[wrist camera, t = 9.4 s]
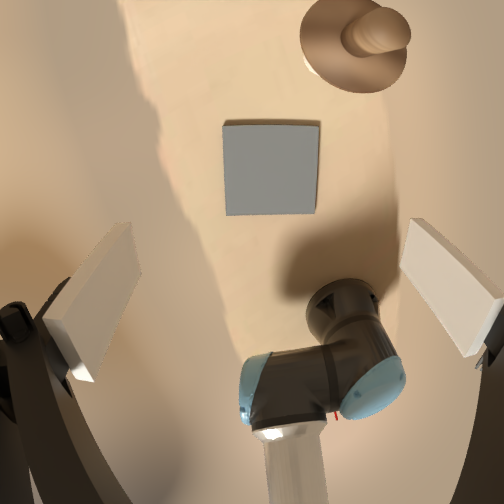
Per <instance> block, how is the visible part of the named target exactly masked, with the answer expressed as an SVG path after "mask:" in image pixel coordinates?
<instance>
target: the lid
mask: <svg viewBox="0 0 504 504" xmlns="http://www.w3.org/2000/svg"><path fill="white" fill-rule="evenodd" d="M410 39H411V30H410V27H409V25H408V22H407V21H406V19H405V18H404V17H403V16H402V15H401V14H400V13H398V12H397V11H395V10H393V9H391V8H387V7H381V6H380V5H379V4H377V3H375V2H374V1H372V0H319V1H317V2H316V3H315V4H314V5H312V7H311V8H310V9H309V10H308V12H307V13H306V14H305V16H304V18H303V20H302V23H301V27H300V43H301V47H302V50H303V53H304V55H305V57H306V59H307V61H308V63H309V64H310V66H311V67H312V68H313V70H314V71H315V72H316V73H317V74H318V75H319V76H320V77H321V78H323V79H324V80H325V81H327V82H328V83H329V84H331V85H333V86H335V87H337V88H339V89H342V90H345V91H348V92H353V93H374V92H378V91H381V90H384V89H386V88H388V87H390V86H391V85H392V84H394V83H395V82H396V81H397V80H398V78H399V77H400V75H401V74H402V72H403V70H404V67H405V64H406V58H407V49H406V46H407V45H408V43H409V42H410Z"/></svg>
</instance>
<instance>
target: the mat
mask: <svg viewBox="0 0 504 504" xmlns="http://www.w3.org/2000/svg"><path fill="white" fill-rule="evenodd" d="M222 132H223V158H224V181H225V201H226V216H236V215H276V214H314V213H315V199H316V182H317V163H318V138H319V126H306V125H229V126H222Z"/></svg>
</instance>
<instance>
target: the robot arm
mask: <svg viewBox="0 0 504 504" xmlns="http://www.w3.org/2000/svg"><path fill="white" fill-rule="evenodd" d="M399 267H400V269H401V270H402V271H403V272H404V274H405V275H406V276H407V277H408V279H409V280H410V281H411V283H412V284H413V285H414V287H415V288H416V289H417V290H418V292H419V293H420V294H421V296H422V297H423V299H424V300H425V301H426V303H427V304H428V305H429V307H430V308H431V309H432V311H433V312H434V314H435V315H436V317H437V318H438V319H439V321H440V322H441V324H442V325H443V327H444V328H445V329H446V331H447V332H448V334H449V335H450V337H451V338H452V340H453V341H454V343H455V345H456V346H457V348H458V349H459V351H460V352H461V354H462V355H463V357H464V358H465V357H468V356H471V355H474V354H477V352H478V351H479V349H480V347H481V346H482V344H483V342H484V343H485V344H486V346H487V349H486V350H485V352H484V353H483V355H482V357H481V358H480V360H479V361H478V363H477V364H476V367H475V369H477V368H478V367H479V365H481V364H483V365H482V368H481V369H480V371H482V376H481V384H480V391H479V399H478V405H477V411H476V416H475V421H474V426H473V431H472V435H471V439H470V443H469V447H468V451H467V455H466V458H465V462H464V466H463V469H462V472H461V475H460V478H459V481H458V484H457V487H456V489H455V492H454V495H453V497H452V500H451V502H450V504H504V293H503V292H502V291H501V290H500V289H499V288H498V287H497V286H496V285H495V284H494V283H493V282H492V281H491V280H490V279H489V278H488V277H487V276H486V275H485V274H484V273H483V272H482V271H481V270H480V269H479V268H478V267H477V266H476V265H475V264H474V263H473V262H472V261H471V260H469V258H468V257H467V256H465V255H464V254H463V253H462V252H461V251H460V250H459V249H458V248H457V247H455V246H454V245H453V244H452V243H451V242H450V241H449V240H447V239H446V238H445V237H444V236H443V235H442V234H440V233H439V232H438V231H437V230H436V229H435V228H433V227H432V226H431V225H430V224H428V223H427V222H426V221H425V220H424V219H421V218H419V219H418V218H410V223H409V227H408V232H407V237H406V241H405V245H404V250H403V253H402V257H401V261H400V265H399ZM140 276H141V269H140V265H139V260H138V255H137V251H136V246H135V241H134V236H133V231H132V225H131V222H126V223H116V224H115V225H114V226H113V227H112V228H111V230H110V231H109V232H108V233H107V234H106V235H105V237H104V238H103V239H102V240H101V241H100V242H99V243H98V245H97V246H96V247H95V248H94V249H93V251H92V252H91V253H90V254H89V255H88V257H87V258H86V259H85V261H84V262H83V263H82V264H81V265H80V267H79V268H78V270H77V271H76V272H75V273H74V274H73V276H72V277H68V278H67V279H65V280H64V281H63V282H62V283H60V284H59V285H58V286H57V288H56V289H55V290H54V292H53V294H51V296H50V297H49V298H48V301H46V302H45V304H44V305H43V306H42V308H41V310H40V311H39V312H38V314H37V315H36V316H35V318H34V319H32V317H31V315H30V313H29V311H28V309H27V307H26V305H25V303H23V302H12V303H9V304H7V305H6V306H4V307H3V308H2V309H1V310H0V335H1V336H2V338H3V340H0V504H34V499H33V493H32V488H31V482H30V474H29V468H30V471H31V474H32V476H33V479H34V482H35V485H36V487H37V490H38V492H39V495H40V497H41V499H42V502H43V504H133V503H132V502H131V500H130V499H129V497H128V496H127V494H126V493H125V491H124V490H123V489H122V487H121V485H120V484H119V482H118V480H117V479H116V477H115V476H114V474H113V472H112V471H111V469H110V467H109V465H108V464H107V462H106V460H105V458H104V456H103V455H102V453H101V452H100V449H99V447H98V445H97V443H96V441H95V439H94V437H93V435H92V433H91V431H90V429H89V427H88V425H87V423H86V421H85V419H84V416H83V414H82V412H81V410H80V407H79V405H78V403H77V400H76V398H75V395H74V393H73V390H72V388H71V385H70V382H69V381H68V379H67V378H66V374H67V372H68V370H69V368H70V370H71V371H72V373H73V375H74V376H75V377H76V379H79V380H85V381H91V382H95V379H96V377H97V374H98V371H99V369H100V366H101V364H102V361H103V359H104V356H105V354H106V351H107V349H108V347H109V344H110V342H111V340H112V337H113V334H114V333H115V330H116V328H117V326H118V323H119V321H120V319H121V316H122V314H123V312H124V310H125V308H126V306H127V303H128V301H129V299H130V297H131V295H132V293H133V291H134V289H135V287H136V284H137V283H138V280H139V278H140ZM306 320H307V324H308V327H309V330H310V332H311V333H312V334H313V336H314V337H315V338H316V339H317V340H318V342H319V343H320V344H321V345H319V346H313V347H307V348H301V349H295V350H288V351H280V352H269V353H268V354H263V355H257V356H252V357H250V358H248V359H247V360H246V361H245V363H244V365H243V367H242V371H241V376H240V384H239V405H240V417H241V420H242V422H243V423H244V424H247V425H252V434H253V435H254V436H255V437H256V438H258V439H259V440H261V441H262V443H263V446H264V456H265V466H266V475H267V485H268V494H269V504H328V495H327V487H326V480H325V472H324V465H323V458H322V451H321V445H320V438H319V435H320V433H321V431H322V430H323V429H324V427H325V426H326V425H327V418H326V413H330V412H335V411H340V413H341V415H342V416H343V417H344V418H346V419H349V420H350V419H353V420H357V419H362V418H366V417H368V416H371V415H373V414H375V413H377V412H379V411H380V410H382V409H384V408H385V407H387V406H388V405H389V404H391V403H392V402H393V401H394V400H395V399H396V398H397V397H398V396H399V394H400V393H401V392H402V390H403V388H404V386H405V383H406V374H405V372H404V369H403V366H402V364H401V359H400V357H398V355H397V353H396V351H395V349H394V347H393V345H392V343H391V341H390V339H389V337H388V335H387V333H386V331H385V329H384V328H383V326H382V324H381V322H380V310H379V301H378V298H377V296H376V294H375V292H374V291H373V289H372V288H371V287H370V286H369V285H368V284H367V283H365V282H363V281H361V280H357V279H343V280H339V281H335V282H333V283H330V284H328V285H327V286H325V287H323V288H322V289H321V290H319V291H318V292H317V293H316V294H315V295H314V296H313V297H312V299H311V300H310V302H309V304H308V306H307V309H306ZM28 465H29V466H28Z"/></svg>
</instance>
